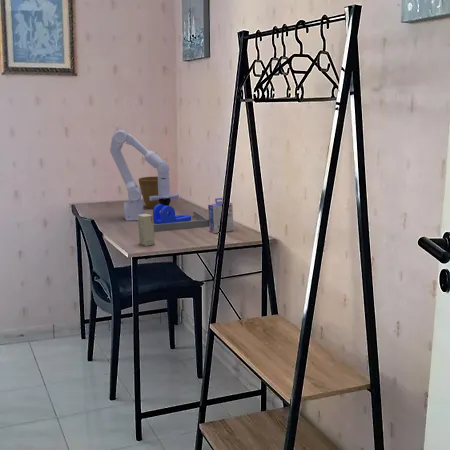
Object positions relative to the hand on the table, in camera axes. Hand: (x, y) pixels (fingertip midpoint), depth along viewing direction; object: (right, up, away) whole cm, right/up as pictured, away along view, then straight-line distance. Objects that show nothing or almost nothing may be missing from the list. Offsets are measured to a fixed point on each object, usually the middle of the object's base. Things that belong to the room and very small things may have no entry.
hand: (165, 213), depth 311 cm
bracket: (+5, -4, -11) cm, 13 cm away
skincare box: (-2, -14, -54) cm, 55 cm away
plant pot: (-9, +4, +28) cm, 29 cm away
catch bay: (+5, -5, -16) cm, 17 cm away
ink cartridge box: (+28, -8, -34) cm, 45 cm away
